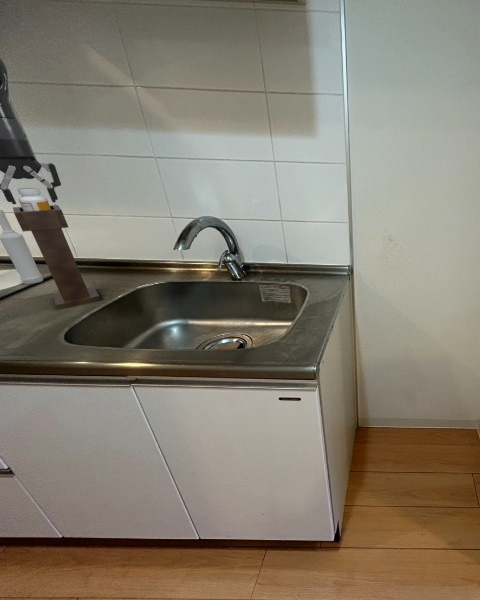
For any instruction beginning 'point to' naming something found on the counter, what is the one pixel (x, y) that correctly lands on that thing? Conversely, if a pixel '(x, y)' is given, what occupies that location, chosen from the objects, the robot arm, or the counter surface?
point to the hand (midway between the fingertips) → (34, 202)
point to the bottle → (19, 252)
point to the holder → (57, 255)
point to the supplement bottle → (33, 200)
